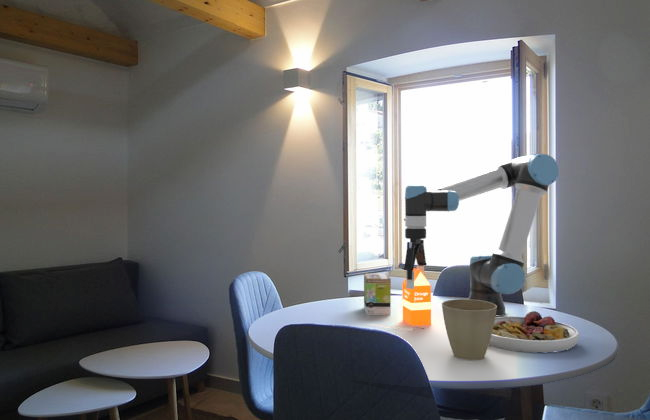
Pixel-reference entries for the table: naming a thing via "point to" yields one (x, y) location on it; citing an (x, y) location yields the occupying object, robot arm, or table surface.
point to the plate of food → (532, 334)
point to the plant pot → (469, 326)
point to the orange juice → (417, 301)
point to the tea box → (377, 294)
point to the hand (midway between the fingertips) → (415, 285)
